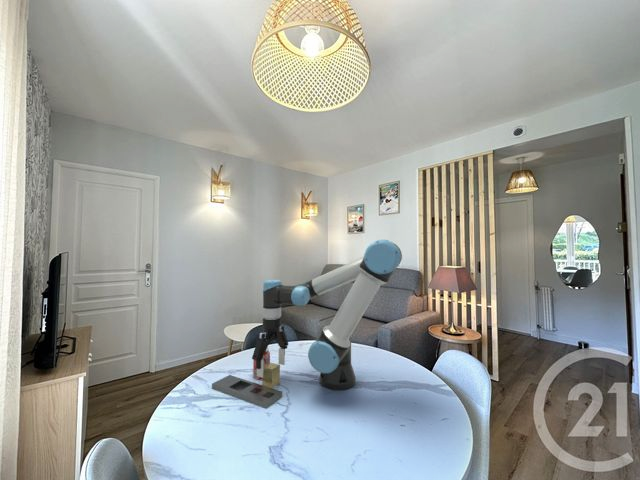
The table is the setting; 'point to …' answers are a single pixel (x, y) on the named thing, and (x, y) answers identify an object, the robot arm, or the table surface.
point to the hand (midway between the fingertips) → (271, 370)
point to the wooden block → (271, 375)
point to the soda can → (266, 361)
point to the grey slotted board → (247, 391)
